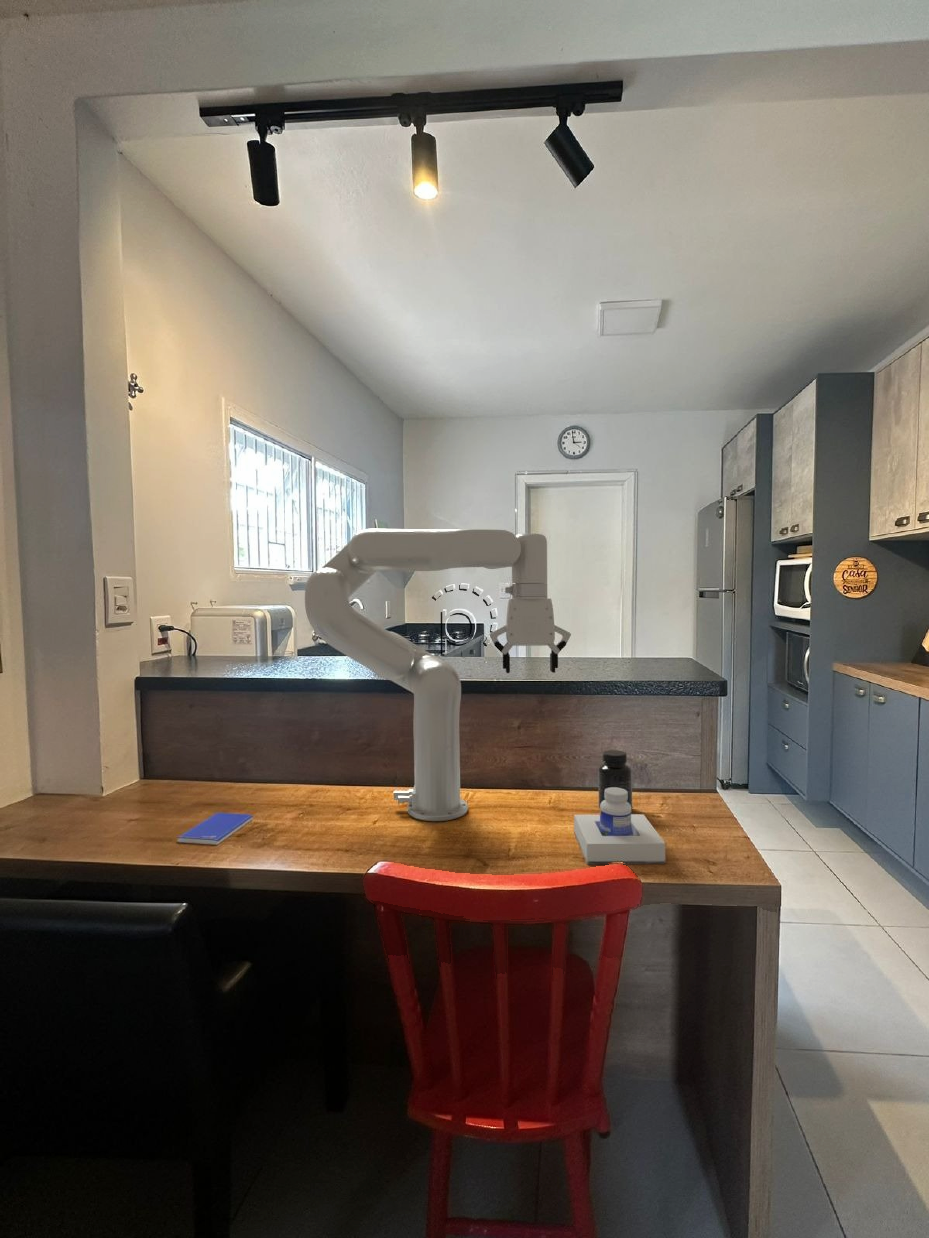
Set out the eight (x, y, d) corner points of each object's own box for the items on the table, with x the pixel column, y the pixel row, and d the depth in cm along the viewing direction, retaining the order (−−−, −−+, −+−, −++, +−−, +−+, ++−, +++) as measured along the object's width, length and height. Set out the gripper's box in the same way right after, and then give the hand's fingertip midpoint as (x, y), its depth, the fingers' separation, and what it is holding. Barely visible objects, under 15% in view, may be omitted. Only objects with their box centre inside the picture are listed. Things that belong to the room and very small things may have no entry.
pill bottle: (595, 839, 110) (595, 786, 109) (623, 836, 111) (623, 784, 110) (607, 852, 104) (607, 797, 104) (636, 849, 105) (636, 794, 105)
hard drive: (217, 839, 111) (252, 814, 123) (177, 836, 112) (216, 811, 124) (217, 847, 111) (252, 821, 123) (177, 844, 112) (216, 819, 125)
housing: (587, 864, 101) (587, 843, 101) (574, 832, 114) (574, 814, 114) (665, 863, 101) (665, 843, 101) (643, 832, 114) (643, 814, 114)
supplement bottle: (629, 804, 129) (629, 748, 128) (635, 816, 122) (635, 757, 121) (596, 803, 130) (596, 748, 129) (600, 815, 123) (600, 757, 122)
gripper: (489, 592, 125) (490, 674, 126) (573, 591, 125) (573, 674, 126) (488, 592, 133) (489, 670, 134) (567, 591, 132) (567, 669, 133)
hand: (530, 672), depth 130 cm, fingers open, 9 cm apart
